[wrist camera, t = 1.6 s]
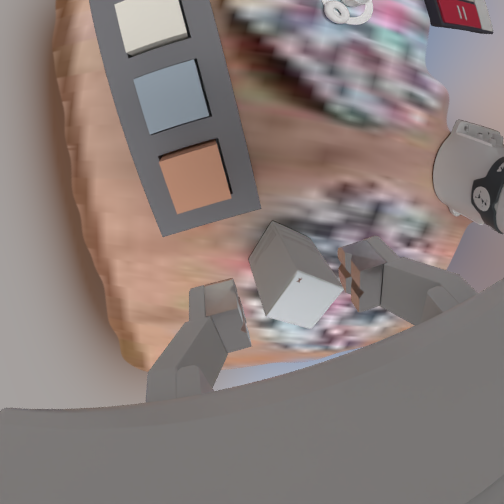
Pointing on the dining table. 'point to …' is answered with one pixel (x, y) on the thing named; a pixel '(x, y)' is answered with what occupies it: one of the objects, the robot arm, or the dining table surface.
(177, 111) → the slate key
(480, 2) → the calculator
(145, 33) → the cream key
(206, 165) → the terracotta key
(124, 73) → the key console
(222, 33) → the dining table surface
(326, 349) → the dining table surface
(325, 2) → the white curved piece
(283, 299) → the supplement box
